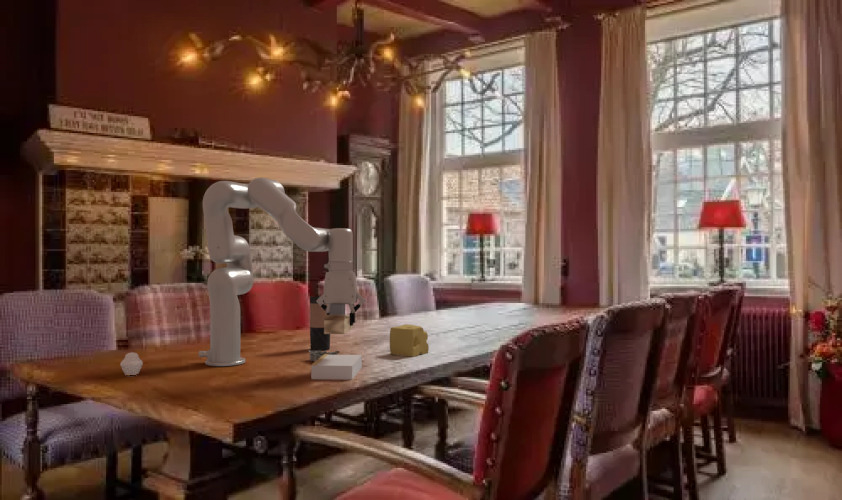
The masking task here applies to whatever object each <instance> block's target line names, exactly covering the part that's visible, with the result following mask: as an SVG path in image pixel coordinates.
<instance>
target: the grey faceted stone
mask: <svg viewBox="0 0 842 500" xmlns="http://www.w3.org/2000/svg"><path fill="white" fill-rule="evenodd" d="M143 363H144V362H143V360H142V359H140V356H139V354H138V353H137V352H133V351H131V352H128V353H126V354H125V356H124V358H123V359H122V361H120V367H121V369H122V372H123V373H124V375H125V376H126V375H136V374H138V375H139V373H140V371H141V369H142V367H143ZM136 376H137V375H136Z"/></svg>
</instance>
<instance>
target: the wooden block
mask: <svg viewBox="0 0 842 500" xmlns="http://www.w3.org/2000/svg"><path fill="white" fill-rule="evenodd" d="M352 329H353V325H352V326H350V314H345V315H324V334H330V335H345V334H347V333H348V332H350V331H351V330H352Z"/></svg>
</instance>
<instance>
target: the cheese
mask: <svg viewBox="0 0 842 500" xmlns="http://www.w3.org/2000/svg"><path fill="white" fill-rule="evenodd" d="M428 337H429V336H428V332H427V331H425V330H424V328H423V327H422V326H420V325H414V324H406V323H405V324H402V325H399V326H395V327H394V326H393V327H390V331H389V350H390V351H389V352H390V355H392V354H393V355H392V356H401V355H403V357H410V358H411V357H412V358H414V357H417V356H419V355H426V354H428V353H429V348H430V347H429V343H428V342H427V341H428Z"/></svg>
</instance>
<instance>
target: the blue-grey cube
mask: <svg viewBox="0 0 842 500" xmlns="http://www.w3.org/2000/svg"><path fill="white" fill-rule="evenodd" d="M330 315H346V304H332V305H330Z"/></svg>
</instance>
